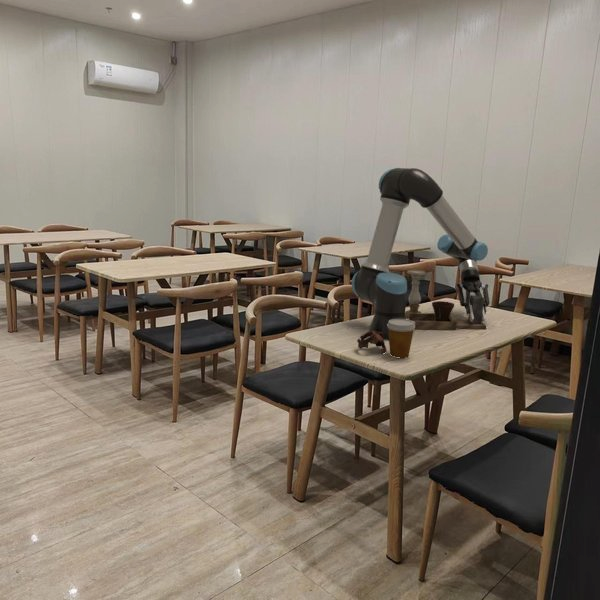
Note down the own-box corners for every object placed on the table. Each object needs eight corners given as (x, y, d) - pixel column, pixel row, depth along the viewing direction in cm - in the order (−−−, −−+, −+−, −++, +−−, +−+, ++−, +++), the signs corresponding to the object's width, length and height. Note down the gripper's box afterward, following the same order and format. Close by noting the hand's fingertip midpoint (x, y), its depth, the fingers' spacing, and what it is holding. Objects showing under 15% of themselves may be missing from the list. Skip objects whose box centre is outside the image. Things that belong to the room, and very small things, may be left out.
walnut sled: (415, 328, 219) (417, 299, 216) (408, 319, 232) (410, 291, 230) (487, 330, 219) (490, 300, 216) (477, 321, 232) (479, 293, 229)
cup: (459, 326, 221) (457, 302, 219) (438, 329, 220) (436, 306, 218) (450, 321, 230) (449, 298, 228) (430, 324, 229) (428, 301, 227)
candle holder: (400, 314, 242) (402, 269, 237) (418, 313, 243) (421, 269, 239) (408, 319, 233) (410, 273, 229) (427, 319, 235) (430, 272, 230)
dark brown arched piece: (383, 359, 185) (372, 338, 183) (361, 365, 191) (350, 345, 189) (395, 341, 194) (384, 322, 193) (373, 347, 200) (362, 329, 198)
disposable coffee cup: (418, 355, 187) (420, 321, 185) (404, 362, 180) (406, 327, 178) (394, 349, 193) (396, 316, 191) (380, 355, 186) (381, 322, 184)
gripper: (486, 278, 236) (496, 325, 224) (447, 277, 237) (454, 324, 224) (492, 268, 230) (501, 316, 218) (451, 267, 230) (459, 315, 218)
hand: (477, 320), depth 221 cm, fingers closed on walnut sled, 4 cm apart
